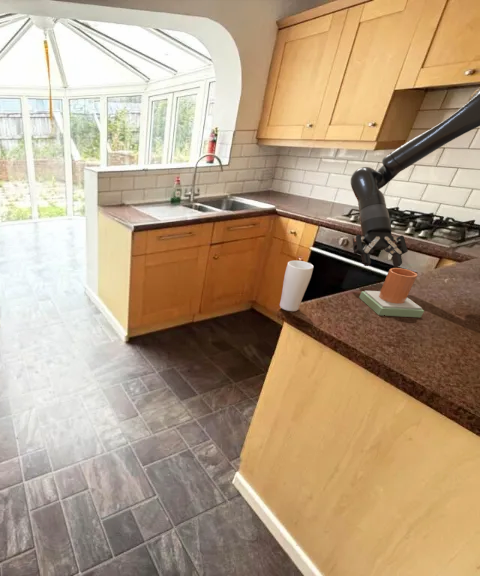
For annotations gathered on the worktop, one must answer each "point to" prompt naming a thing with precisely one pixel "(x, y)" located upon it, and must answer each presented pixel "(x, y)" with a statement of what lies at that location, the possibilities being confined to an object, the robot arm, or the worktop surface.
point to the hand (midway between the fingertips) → (382, 265)
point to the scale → (390, 305)
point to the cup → (397, 285)
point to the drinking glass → (295, 284)
